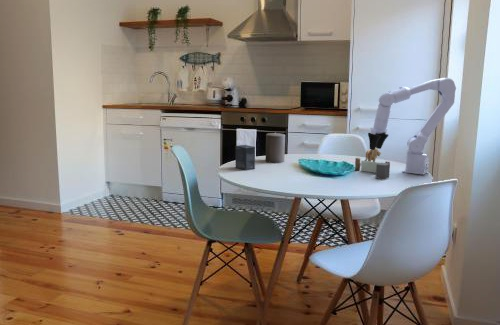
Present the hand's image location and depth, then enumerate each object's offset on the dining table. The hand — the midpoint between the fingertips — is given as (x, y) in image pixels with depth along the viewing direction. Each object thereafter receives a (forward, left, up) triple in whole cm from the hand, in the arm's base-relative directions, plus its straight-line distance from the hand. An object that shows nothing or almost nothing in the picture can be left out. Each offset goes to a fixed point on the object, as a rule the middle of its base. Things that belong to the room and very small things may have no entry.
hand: (375, 148), depth 216 cm
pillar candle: (+48, +10, -10) cm, 50 cm away
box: (+49, +34, -10) cm, 61 cm away
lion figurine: (+6, -12, -10) cm, 17 cm away
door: (-1, +5, -10) cm, 11 cm away
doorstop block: (-9, +13, -10) cm, 19 cm away
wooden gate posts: (-1, +5, -10) cm, 11 cm away
